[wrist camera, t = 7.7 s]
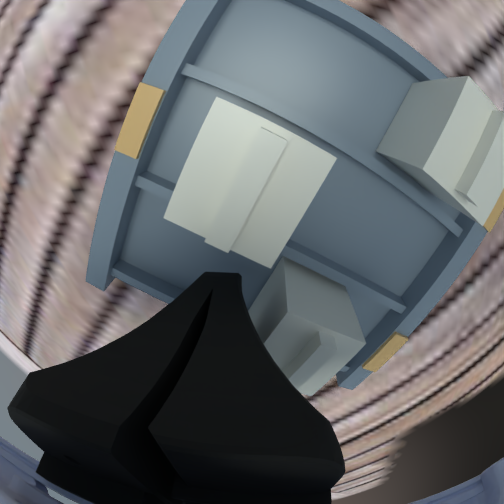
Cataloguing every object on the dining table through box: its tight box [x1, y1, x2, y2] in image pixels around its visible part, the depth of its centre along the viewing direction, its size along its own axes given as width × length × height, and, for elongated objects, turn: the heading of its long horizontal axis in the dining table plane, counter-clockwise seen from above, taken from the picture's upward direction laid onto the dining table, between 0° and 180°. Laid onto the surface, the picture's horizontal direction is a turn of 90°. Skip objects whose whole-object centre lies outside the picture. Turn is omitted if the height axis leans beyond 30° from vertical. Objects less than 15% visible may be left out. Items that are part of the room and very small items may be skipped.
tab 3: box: [376, 76, 504, 227], centre depth 7 cm, size 3×3×4 cm
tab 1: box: [163, 97, 337, 269], centre depth 8 cm, size 3×3×4 cm
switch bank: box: [86, 0, 504, 390], centre depth 10 cm, size 14×14×2 cm
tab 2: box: [248, 256, 366, 396], centre depth 10 cm, size 3×3×4 cm
